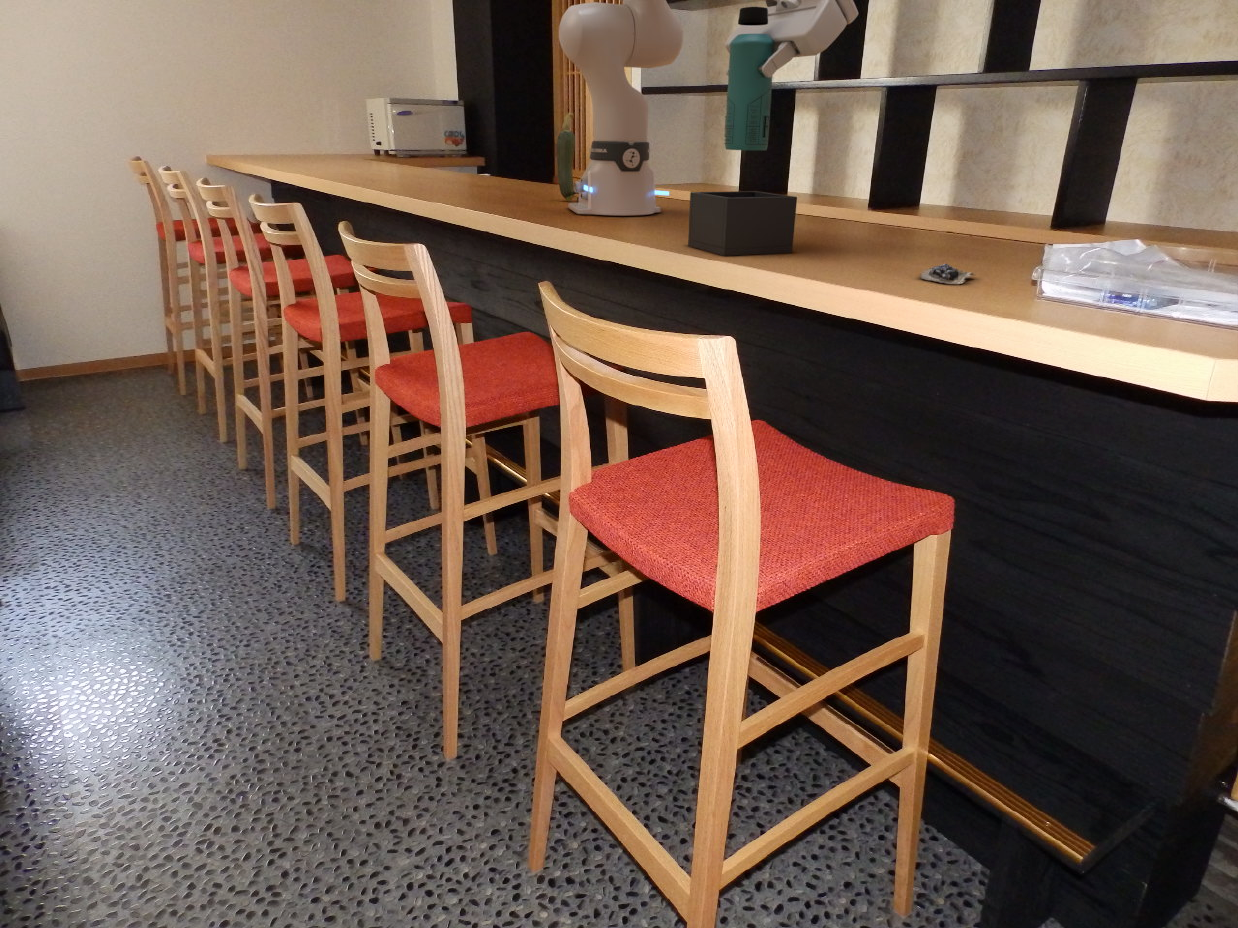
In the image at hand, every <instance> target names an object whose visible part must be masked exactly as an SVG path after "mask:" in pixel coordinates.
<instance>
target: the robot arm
mask: <svg viewBox="0 0 1238 928" xmlns="http://www.w3.org/2000/svg"><path fill="white" fill-rule="evenodd" d="M765 4H766V7H765V8H767V9H768V24H767V25H756V26H749V25H739V26H737V28H736V29H735V30H734V31H733V32H732V33H731V34H730V35H729V36H728V38H727V39H726V41H725V45H724V47H725V49H726V51H727V52H728V54H729V55H730V43H731V41H732V40H733V39H734V38H735V37H736V36H737V35H739V34H767V35H768V36H769V37H770V38H771V40H772V41H773V43H774V50H773V55H772V56H771V57H770V58H769V59H765V60H764V61H763V62H762V64H761V65H760V66H759V67H758V72H759V73H760V74H761V76H762V77H763V78H767V77H772V76H774V75H775V73H776V72H777V71H778V70H780V69H781V68H782V67H784V66H785V65H787V64H788V63H789V62H791V61H792V60H793V58H801V57H802V58H803V57H813V56H814V57H815V56H817V55H820V54H821V53H823V52H824V51H826V50H827V49H828V48H829V46H830V45H832V44H833V42H834V41H836V39H837V38H838V37H839V36H840V34H841V33H842V32H843V31H844V30H845V28H846V27H847V25H850V24H851V23H853V22H854V21H855V20H856V18H857V17H858V16H859V11H858V8H857V6H856V4H855V2H854V0H765ZM558 41H559V44H560V47H561V50H562V52H563V53H564V55H565V57H566V58H567V59H568V60H569V61H570V62H572V63H573V65H574V66H575V67H576V68H577V69H578V70H579V72H580V73H581V75H582V78H583V79H584V80H585V84H586V85H587V88H588V91H589V94H590V98H591V105H592V120H593V121H592V122H593V140H592V141H591V144H590V145H591V146H590V148H589V149H590V150H589V159H590V161H589V163H588V165H587V167H586V169H585V170H584V172H583V174H582V176H581V178H580V179H579V180H576V181H574V182H573V188H574V193H573V196H575V195H578V196H577V197H576V200H577V201H578V202H571V203H570V202H569V203H568V204H567V205H568V206H567V208H568V209H569V210H570V211H572V212H574V213H575V214H577V215H596V216H597V215H598V216H646V215H652V214H656V213H661V212H662V211H661V207H660V206H656V196H670V191H669V190H668V191H667V190H658V189H657V190H656V184H655V183H656V182H655V181H656V180H655V172H654V170H653V169H652V168H651V167H650V165H649V162H648V161H649V160H650V153H651V149H650V143H649V141H648V133H649V131H648V128H649V104H648V101H647V99H646V97H645V96H644V94H643V93H641V91H639V90H638V89H636V88H635V87H633V86H632V85H631V84H630V83H629V81H628V78H627V75H626V72H625V71H626V70H625V68H637V69H653V68H660V67H663V66H668V65H671V64H673V63H674V62H675V61H676V59H677V58H678V56H679V55H680V53H681V50H682V47H683V42H684V32H683V26H682V24H681V21H680V19H679V18H678V15H676V13H675V12H674V11H673V10H672V8H671V6H669V3H668V2H667V0H622V4H619V3H610V2H609V3H608V2H598V1H597V2H596V1H592V2H584V3H579V4H573V5H570V6H569V7H568V8H566V10H565V11H564V13H563V14H562V17H561V18H560V22H559V26H558ZM725 73H726V75H727V77H729V66H728V67H727V68H726V70H725ZM772 78H773V77H772Z"/></svg>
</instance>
